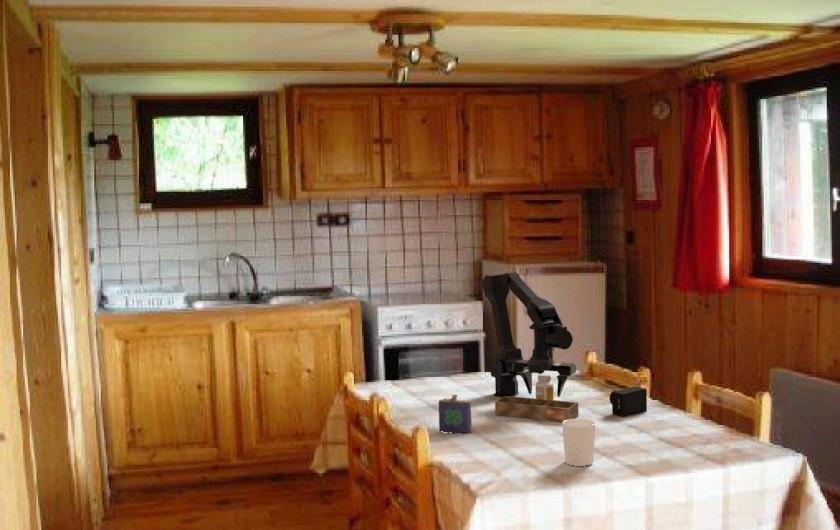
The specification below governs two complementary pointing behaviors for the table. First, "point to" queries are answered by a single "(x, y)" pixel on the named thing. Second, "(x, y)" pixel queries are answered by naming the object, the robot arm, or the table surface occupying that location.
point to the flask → (455, 415)
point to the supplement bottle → (544, 387)
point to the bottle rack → (536, 408)
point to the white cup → (579, 441)
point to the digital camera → (628, 401)
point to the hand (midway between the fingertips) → (544, 395)
